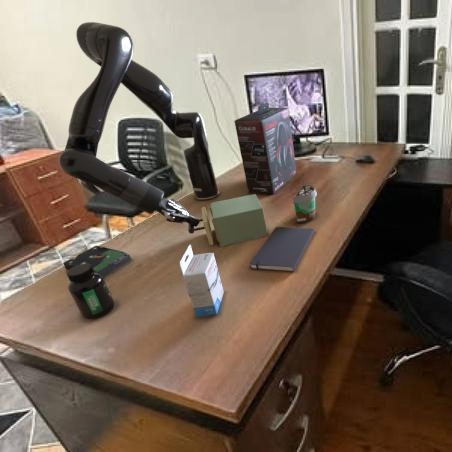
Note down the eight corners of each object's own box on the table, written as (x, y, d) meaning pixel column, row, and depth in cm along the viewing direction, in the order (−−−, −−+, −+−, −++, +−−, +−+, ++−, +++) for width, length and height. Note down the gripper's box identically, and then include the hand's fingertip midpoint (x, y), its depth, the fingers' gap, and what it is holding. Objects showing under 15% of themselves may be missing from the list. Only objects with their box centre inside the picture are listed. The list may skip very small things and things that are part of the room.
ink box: (217, 315, 79) (201, 261, 72) (195, 318, 79) (177, 264, 72) (224, 292, 87) (211, 241, 80) (204, 294, 87) (189, 243, 80)
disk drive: (65, 271, 100) (100, 280, 95) (61, 263, 99) (96, 271, 94) (99, 252, 109) (132, 259, 103) (95, 244, 107) (129, 251, 102)
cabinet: (220, 246, 107) (213, 218, 102) (217, 228, 117) (210, 202, 113) (267, 235, 111) (262, 208, 107) (260, 219, 122) (255, 193, 117)
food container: (314, 225, 115) (311, 197, 110) (296, 225, 116) (292, 197, 111) (322, 209, 125) (320, 183, 121) (305, 209, 127) (303, 183, 122)
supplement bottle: (107, 318, 81) (86, 276, 75) (76, 322, 81) (53, 280, 75) (120, 299, 87) (102, 259, 81) (92, 302, 87) (72, 262, 81)
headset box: (274, 195, 140) (260, 109, 124) (246, 193, 144) (230, 110, 128) (297, 174, 160) (288, 98, 145) (273, 173, 164) (261, 98, 148)
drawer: (192, 249, 105) (186, 226, 101) (192, 232, 114) (185, 211, 111) (253, 235, 110) (249, 212, 106) (248, 220, 119) (243, 199, 116)
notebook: (293, 271, 92) (314, 232, 111) (293, 267, 92) (313, 228, 110) (249, 268, 95) (276, 230, 113) (248, 263, 94) (276, 226, 113)
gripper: (146, 192, 92) (206, 222, 102) (150, 177, 103) (203, 205, 113) (131, 214, 93) (192, 242, 103) (137, 197, 104) (191, 224, 114)
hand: (198, 223), depth 108 cm, fingers closed
